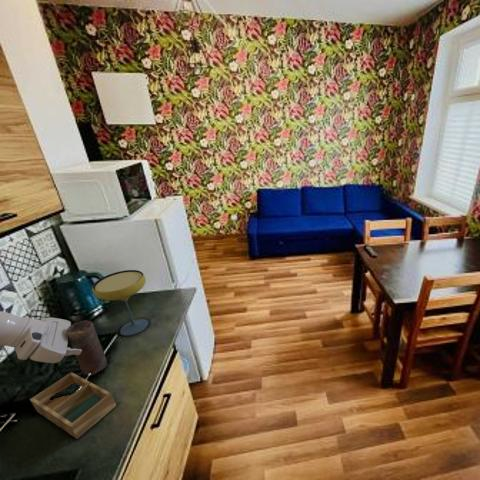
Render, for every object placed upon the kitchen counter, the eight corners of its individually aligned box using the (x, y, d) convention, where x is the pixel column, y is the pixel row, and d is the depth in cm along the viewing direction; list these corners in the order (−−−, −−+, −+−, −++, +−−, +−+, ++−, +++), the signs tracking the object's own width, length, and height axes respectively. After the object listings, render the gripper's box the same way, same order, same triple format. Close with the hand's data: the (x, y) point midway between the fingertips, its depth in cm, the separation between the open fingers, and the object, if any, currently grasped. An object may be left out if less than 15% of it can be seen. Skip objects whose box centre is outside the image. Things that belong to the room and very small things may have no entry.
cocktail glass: (101, 344, 111) (80, 294, 102) (122, 316, 128) (106, 271, 118) (148, 338, 115) (132, 289, 105) (163, 312, 131) (150, 268, 121)
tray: (36, 411, 85) (29, 399, 83) (77, 383, 94) (71, 371, 92) (77, 439, 78) (70, 426, 75) (116, 405, 87) (111, 393, 85)
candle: (104, 358, 105) (88, 317, 97) (112, 367, 101) (95, 325, 93) (80, 371, 99) (60, 328, 92) (87, 381, 95) (67, 337, 88)
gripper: (31, 324, 92) (77, 334, 102) (17, 362, 77) (73, 370, 87) (43, 309, 93) (88, 320, 102) (32, 344, 78) (86, 353, 87)
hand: (81, 343), depth 94 cm, fingers open, 8 cm apart
